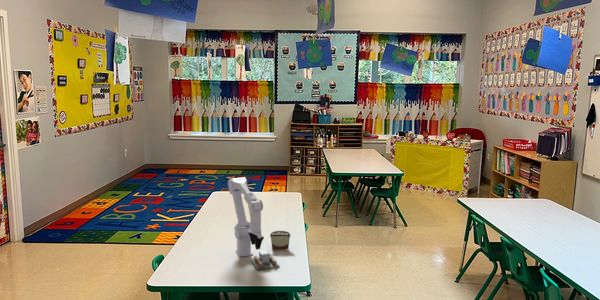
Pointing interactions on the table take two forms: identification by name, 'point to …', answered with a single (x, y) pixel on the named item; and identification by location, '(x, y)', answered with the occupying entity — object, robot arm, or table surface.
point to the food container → (280, 240)
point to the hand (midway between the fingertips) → (255, 246)
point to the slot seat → (260, 266)
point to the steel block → (264, 257)
